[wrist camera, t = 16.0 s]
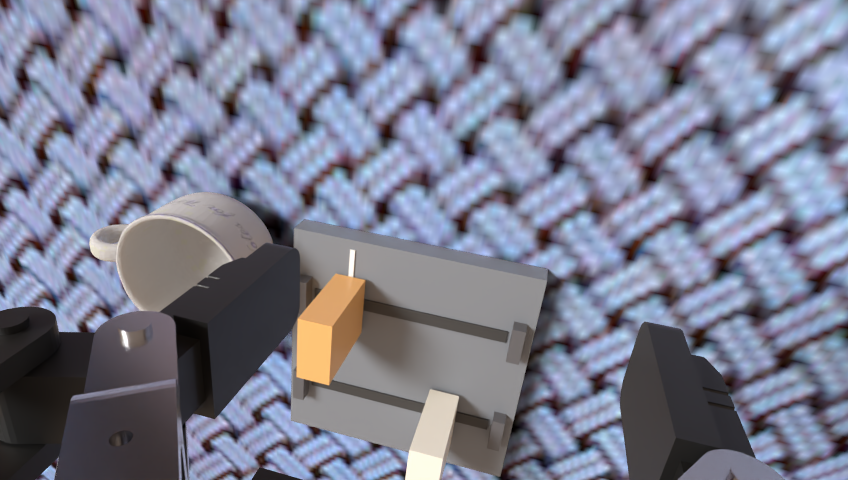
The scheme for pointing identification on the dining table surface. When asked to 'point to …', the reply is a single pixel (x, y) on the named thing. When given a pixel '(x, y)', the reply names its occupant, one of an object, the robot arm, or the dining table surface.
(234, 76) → the dining table surface
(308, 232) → the console
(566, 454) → the dining table surface
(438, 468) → the fader ivory
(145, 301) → the teacup
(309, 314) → the fader orange
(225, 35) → the dining table surface
